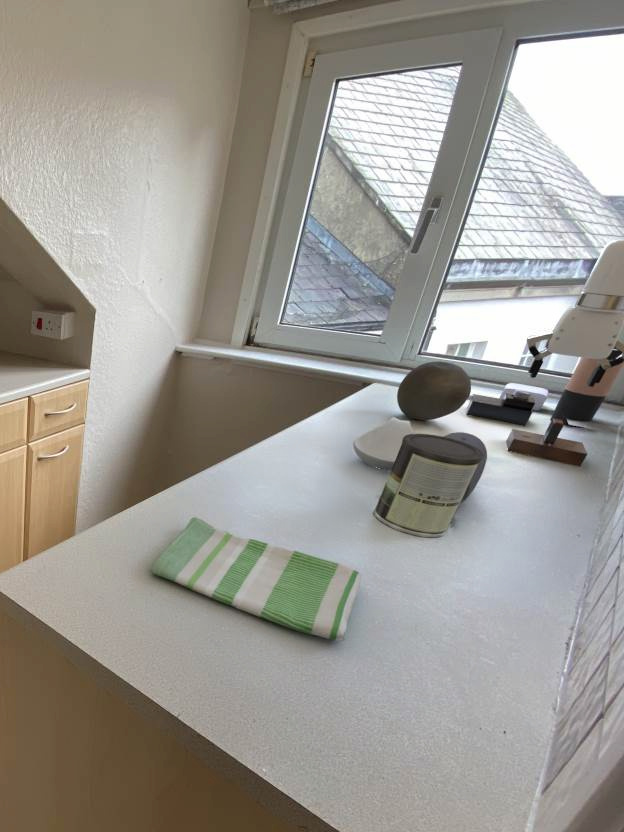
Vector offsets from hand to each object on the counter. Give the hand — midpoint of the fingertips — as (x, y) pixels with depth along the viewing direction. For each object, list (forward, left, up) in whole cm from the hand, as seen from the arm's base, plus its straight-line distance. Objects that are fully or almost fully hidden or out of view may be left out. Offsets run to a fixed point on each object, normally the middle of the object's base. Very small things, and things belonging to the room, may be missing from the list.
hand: (560, 381), depth 124 cm
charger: (0, -41, -15) cm, 44 cm away
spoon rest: (+25, +39, -15) cm, 49 cm away
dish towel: (+33, +106, -15) cm, 112 cm away
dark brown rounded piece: (+21, +2, -15) cm, 26 cm away
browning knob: (-2, +9, -12) cm, 15 cm away
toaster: (+6, -17, -15) cm, 24 cm away
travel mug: (-9, -25, -15) cm, 31 cm away
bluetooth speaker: (+15, +53, -15) cm, 57 cm away
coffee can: (+18, +70, -15) cm, 74 cm away
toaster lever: (+3, -17, -9) cm, 20 cm away
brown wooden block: (-2, +9, -15) cm, 17 cm away
